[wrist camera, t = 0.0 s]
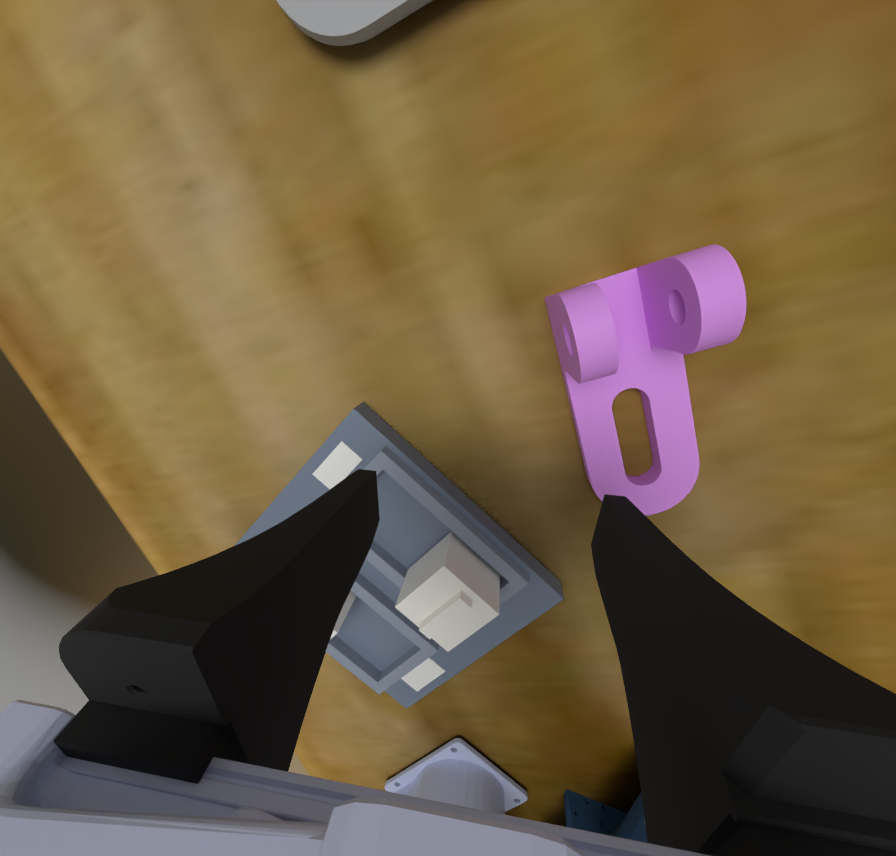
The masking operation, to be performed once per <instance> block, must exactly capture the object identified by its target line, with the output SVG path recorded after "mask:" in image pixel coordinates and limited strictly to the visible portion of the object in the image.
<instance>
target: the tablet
mask: <svg viewBox="0 0 896 856" xmlns="http://www.w3.org/2000/svg"><path fill="white" fill-rule="evenodd" d="M431 1H433V0H277V2H278V3H279V5H280V6H281V8H282V9H283V11H284V12H285V13H286V15H287V16H288V17H289V18H290V20H291V21H292V22H293V23H294V24H295V25H296V26H297V27H298V28H299V29H300V30H301V31H302V32H304V33H305V34H306V35H308V36H309V37H311V38H313V39H314V40H316V41H319V42H322V43H324V44H327V45H334V46H347V45H352V44H358V43H362V42H365V41H367V40H369V39H371V38H373V37H375V36H377V35H378V34H380V33H381V32H383V31H385V30H386V29H388V28H389V27H391V26H393V25H394V24H396V23H397V22H399V21H401V20H402V19H404V18H405V17H407V16H409V15H410V14H412V13H414V12H415V11H417V10H418V9H420V8H422V7H423V6H425V5H426V4H428V3H430V2H431Z"/></svg>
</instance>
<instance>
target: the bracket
mask: <svg viewBox="0 0 896 856" xmlns="http://www.w3.org/2000/svg"><path fill="white" fill-rule="evenodd" d="M545 301H546V306H547V310H548V314H549V318H550V323H551V327H552V331H553V335H554V340H555V344H556V348H557V352H558V356H559V361H560V365H561V369H562V373H563V378H564V382H565V386H566V390H567V395H568V399H569V403H570V407H571V411H572V416H573V420H574V424H575V428H576V433H577V437H578V441H579V445H580V450H581V454H582V458H583V462H584V466H585V471H586V474H587V477H588V480H589V482H590V484H591V486H592V488H593V490H594V492H595V493H596V495H597V496H598V498H599V499H600V500H601V501H602V502H603V498H604V494H607V495H617V496H626V497H627V498H628V499H629V500H630V501H631V502H632V503H633V504H634V505H635V506H636V507H637V508H638V509H639V510H640V511H641V512H642V513H643V514H644V515H652V514H656V513H660V512H663V511H665V510H667V509H669V508H671V507H673V506H675V505H676V504H678V503H679V502H680V501H681V500H683V499H684V498H685V497H686V496H687V494H688V493H689V492H690V491H691V489H692V488H693V486H694V484H695V482H696V480H697V477H698V473H699V455H698V448H697V441H696V435H695V428H694V422H693V415H692V409H691V402H690V396H689V389H688V382H687V376H686V369H685V363H684V356H683V354H691V353H695V352H698V351H702V350H706V349H709V348H713V347H717V346H721V345H724V344H728V343H731V342H732V341H734V340H735V339H736V338H737V337H738V335H739V334H740V332H741V330H742V327H743V324H744V321H745V315H746V293H745V287H744V282H743V278H742V275H741V272H740V270H739V267H738V265H737V263H736V261H735V260H734V258H733V257H732V255H731V254H730V253H729V252H728V251H727V250H726V249H725V248H723V247H721V246H719V245H709V246H705V247H702V248H699V249H695V250H692V251H689V252H685V253H682V254H678V255H675V256H672V257H668V258H665V259H662V260H658V261H655V262H652V263H649V264H646V265H643V266H640V267H637V268H634V269H631V270H627V271H624V272H621V273H618V274H615V275H612V276H609V277H606V278H603V279H600V280H597V281H593V282H590V283H587V284H584V285H581V286H578V287H575V288H572V289H569V290H566V291H563V292H560V293H556V294H553V295H550V296H547V297H545ZM629 388H637V389H639V391H640V393H641V396H642V402H643V407H644V413H645V418H646V423H647V429H648V434H649V440H650V445H651V450H652V456H653V464H652V466H651V468H650V469H649V470H648V471H647V472H646V473H644V474H642V475H640V476H629V475H627V474H625V470H624V465H623V460H622V456H621V451H620V446H619V441H618V436H617V432H616V427H615V422H614V417H613V412H612V403H613V400H614V398H615V397H616V396H617V394H619V393H620V392H621V391H623V390H625V389H629Z"/></svg>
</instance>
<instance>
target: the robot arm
mask: <svg viewBox="0 0 896 856" xmlns="http://www.w3.org/2000/svg"><path fill="white" fill-rule="evenodd" d="M379 521H380V517H379V503H378V489H377V476H376V471H373V470H363V469H358V470H356V471H355V472H353V473H352V474H350V475H349V476H348V477H346V478H345V479H344V480H342V481H341V482H340V483H338V484H337V485H335V486H334V487H333V488H331V489H330V490H329V491H327V492H326V493H324V494H323V495H322V496H320V497H319V498H317V499H316V500H315V501H313V502H312V503H310V504H309V505H307V506H305V507H304V508H302V509H301V510H299V511H298V512H296V513H295V514H293V515H292V516H290V517H289V518H287V519H285V520H284V521H282V522H280V523H279V524H277V525H275V526H273V527H272V528H270V529H268V530H266V531H264V532H262V533H260V534H258V535H257V536H255V537H253V538H251V539H249V540H246V541H244V542H242V543H240V544H238V545H235V546H233V547H231V548H229V549H227V550H225V551H222V552H220V553H218V554H216V555H213V556H211V557H208V558H206V559H203V560H201V561H198V562H196V563H193V564H190V565H188V566H185V567H182V568H179V569H177V570H174V571H171V572H168V573H165V574H162V575H159V576H156V577H152V578H149V579H146V580H143V581H139V582H136V583H133V584H130V585H126V586H123V587H119V588H116V589H115V590H114V591H113V592H112V593H110V594H109V595H108V596H107V597H106V598H105V599H104V600H103V601H102V602H101V603H100V604H99V605H97V607H95V608H94V609H93V610H92V611H91V612H90V613H89V614H88V615H86V616H85V617H84V618H83V619H82V620H81V621H80V622H79V623H78V624H76V626H74V627H73V628H72V629H71V630H70V631H69V632H68V633H67V634H66V635H64V637H63V638H62V640H61V642H60V644H59V652H60V658H61V660H62V662H63V663H64V665H65V667H66V669H67V670H68V672H69V673H70V674H71V675H72V677H73V678H74V680H75V681H76V682H77V684H78V685H79V687H80V688H81V689H82V691H83V692H84V694H85V695H86V696H87V698H88V699H89V701H88V702H87V704H86V705H85V706H84V707H83V708H82V709H81V710H80V711H79V713H78V714H77V715H76V716H75V715H74V714H73V713H71V712H69V711H67V710H65V709H62V708H58V707H54V706H49V705H43V704H38V703H33V702H27V701H23V700H17V701H13V702H12V703H11V704H10V705H8V706H7V707H6V708H5V709H4V710H3V711H2V712H1V713H0V856H896V694H894V693H893V692H891V691H889V690H887V689H885V688H883V687H881V686H880V685H878V684H876V683H874V682H872V681H870V680H868V679H866V678H865V677H863V676H861V675H859V674H857V673H855V672H853V671H852V670H850V669H848V668H846V667H845V666H843V665H841V664H840V663H838V662H836V661H835V660H833V659H831V658H830V657H828V656H826V655H824V654H823V653H821V652H819V651H818V650H816V649H814V648H813V647H811V646H809V645H808V644H806V643H805V642H803V641H801V640H800V639H798V638H797V637H795V636H793V635H792V634H790V633H789V632H787V631H786V630H784V629H783V628H781V627H780V626H778V625H777V624H775V623H774V622H772V621H771V620H769V619H768V618H766V617H765V616H763V615H762V614H760V613H759V612H757V611H756V610H755V609H753V608H752V607H750V606H749V605H747V604H746V603H745V602H743V601H742V600H741V599H739V598H738V597H737V596H735V595H734V594H733V593H731V592H730V591H729V590H728V589H726V588H725V587H724V586H722V585H721V584H720V583H718V582H717V581H716V580H715V579H713V578H712V577H711V576H710V575H708V574H707V573H706V572H705V571H704V570H703V569H701V568H700V567H699V566H698V565H697V564H696V563H695V562H693V561H692V560H691V559H690V558H689V557H688V556H686V555H685V554H684V553H683V552H682V551H681V550H680V549H679V548H678V547H677V546H676V545H675V544H673V543H672V542H671V541H670V540H669V539H668V538H667V537H666V536H665V535H664V534H663V533H662V532H661V531H660V530H659V529H658V528H657V527H656V526H655V525H654V524H653V523H652V522H651V521H650V520H649V519H648V518H647V517H646V516H645V515H644V514H643V513H642V512H641V511H640V510H639V509H638V508H637V507H636V506H635V505H634V504H633V503H632V502H631V501H630V500H629V499H628V498H627V497H626V496H617V495H607V494H604V498H603V502H602V506H601V509H600V513H599V517H598V521H597V525H596V528H595V532H594V536H593V540H592V543H591V547H592V554H593V561H594V568H595V574H596V578H597V582H598V585H599V589H600V592H601V596H602V600H603V603H604V606H605V610H606V613H607V617H608V620H609V624H610V627H611V631H612V634H613V637H614V641H615V644H616V648H617V652H618V656H619V660H620V664H621V670H622V675H623V680H624V686H625V691H626V697H627V702H628V708H629V714H630V720H631V726H632V732H633V739H634V745H635V752H636V759H637V766H638V773H639V780H640V787H641V794H642V802H643V810H644V818H645V827H646V835H647V843H645V842H640V841H635V840H630V839H625V838H620V837H615V836H610V835H605V834H599V833H594V832H589V831H584V830H579V829H574V828H569V827H564V826H559V825H554V824H549V823H544V822H539V821H534V820H529V819H524V818H519V817H514V816H509V815H505V812H506V811H508V810H510V809H512V808H514V807H516V806H518V805H520V804H522V803H524V802H526V801H527V800H528V794H527V792H526V791H525V790H524V789H523V788H522V787H520V786H519V785H518V784H517V783H516V782H514V781H513V780H512V779H511V778H509V777H508V776H507V775H506V774H504V773H503V772H502V771H501V770H500V769H498V768H497V767H496V766H495V765H493V764H492V763H491V762H490V761H488V760H487V759H486V758H485V757H483V756H482V755H481V754H480V753H479V752H477V751H476V750H475V749H474V748H472V747H471V746H470V745H469V744H467V743H466V742H465V741H464V740H462V739H461V738H455V739H453V740H452V741H450V742H448V743H447V744H445V745H444V746H442V747H440V748H439V749H437V750H436V751H434V752H432V753H431V754H429V755H428V756H426V757H424V758H423V759H421V760H420V761H418V762H416V763H415V764H413V765H411V766H410V767H408V768H407V769H405V770H403V771H402V772H400V773H399V774H397V775H395V776H394V777H392V778H391V779H389V780H387V781H386V783H385V787H384V788H385V790H386V791H383V790H378V789H373V788H368V787H362V786H357V785H352V784H347V783H342V782H337V781H332V780H327V779H322V778H317V777H312V776H307V775H302V774H296V773H292V772H288V770H289V766H290V763H291V760H292V756H293V753H294V749H295V746H296V742H297V739H298V736H299V732H300V729H301V726H302V722H303V719H304V716H305V713H306V710H307V707H308V703H309V700H310V697H311V694H312V691H313V688H314V685H315V682H316V679H317V676H318V673H319V670H320V667H321V664H322V661H323V658H324V655H325V652H326V649H327V646H328V644H329V641H330V638H331V635H332V633H333V630H334V627H335V624H336V621H337V619H338V617H339V614H340V612H341V610H342V607H343V605H344V603H345V601H346V599H347V597H348V595H349V593H350V591H351V588H352V586H353V584H354V582H355V580H356V578H357V576H358V574H359V572H360V570H361V568H362V565H363V563H364V561H365V559H366V557H367V555H368V552H369V550H370V548H371V545H372V543H373V540H374V537H375V533H376V530H377V527H378V524H379Z"/></svg>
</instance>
